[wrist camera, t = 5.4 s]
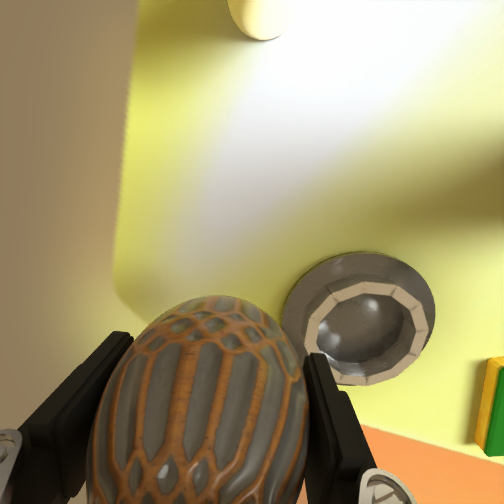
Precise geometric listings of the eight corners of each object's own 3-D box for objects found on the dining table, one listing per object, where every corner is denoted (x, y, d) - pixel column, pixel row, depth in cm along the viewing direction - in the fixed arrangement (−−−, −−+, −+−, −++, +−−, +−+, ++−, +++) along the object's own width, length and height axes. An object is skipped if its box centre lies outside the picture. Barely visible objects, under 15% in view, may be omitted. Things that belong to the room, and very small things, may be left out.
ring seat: (451, 260, 27) (474, 270, 24) (406, 386, 32) (421, 408, 29) (293, 243, 26) (297, 251, 24) (272, 373, 31) (274, 393, 29)
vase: (168, 395, 14) (20, 752, 5) (142, 278, 12) (-167, 545, 3) (296, 391, 13) (360, 766, 5) (291, 268, 11) (386, 542, 3)
